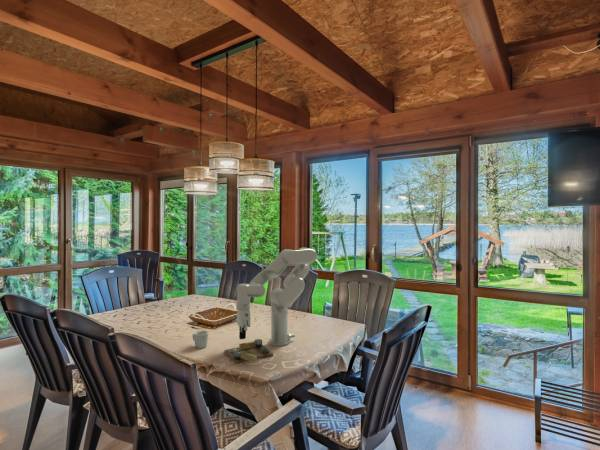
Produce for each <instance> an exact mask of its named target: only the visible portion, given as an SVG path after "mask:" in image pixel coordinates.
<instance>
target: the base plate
mask: <svg viewBox="0 0 600 450" xmlns="http://www.w3.org/2000/svg"><path fill="white" fill-rule="evenodd" d="M236 350H239V346H237V347H234V348H228V349H224V350H223V351H224V354H225V355H226V356H227V357H228V358H229V359H230V361H232V362H233V363H234V364H235V365H238V364H244V363H247V362H249V361H248V360H243V359H234V351H236ZM242 351H243V353H248V354H252V355H257V360H262V359H266V358H270V357H274V352H273V351H271V350H270V348H269V347H266V346H264V344H262V347H253V348H248V349H243V350H242Z"/></svg>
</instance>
